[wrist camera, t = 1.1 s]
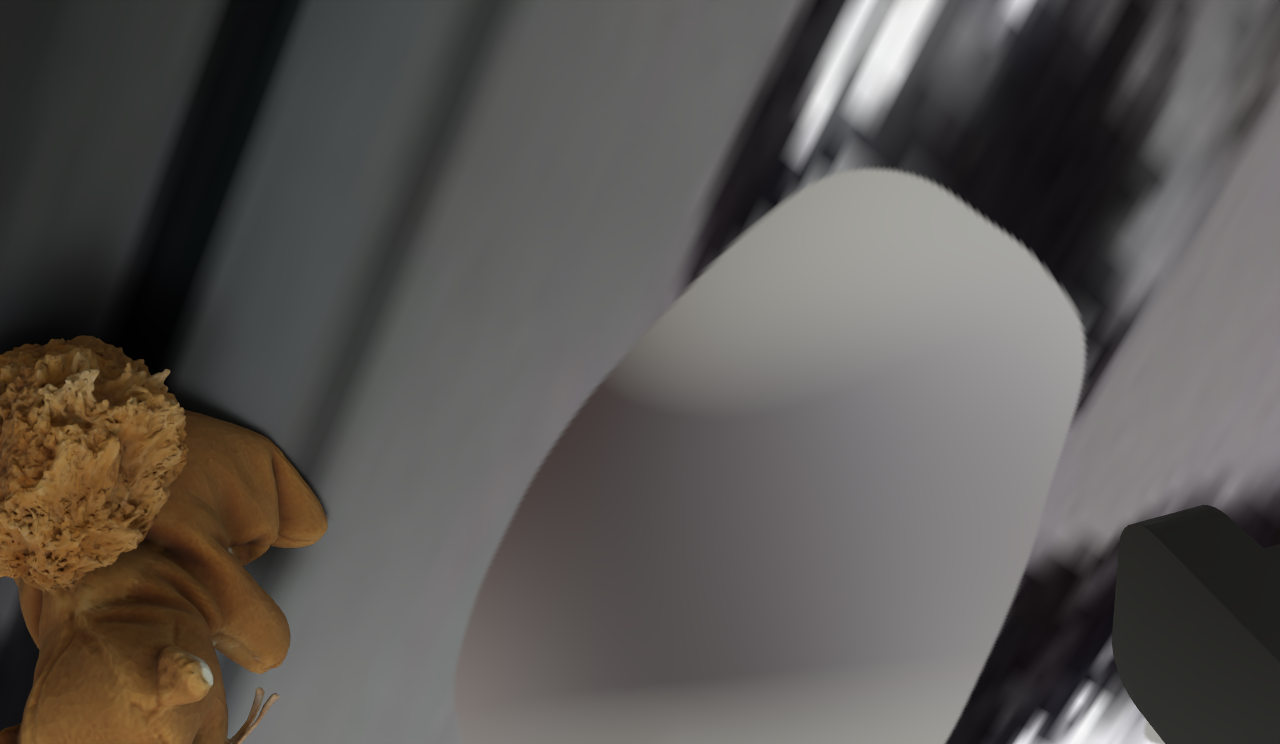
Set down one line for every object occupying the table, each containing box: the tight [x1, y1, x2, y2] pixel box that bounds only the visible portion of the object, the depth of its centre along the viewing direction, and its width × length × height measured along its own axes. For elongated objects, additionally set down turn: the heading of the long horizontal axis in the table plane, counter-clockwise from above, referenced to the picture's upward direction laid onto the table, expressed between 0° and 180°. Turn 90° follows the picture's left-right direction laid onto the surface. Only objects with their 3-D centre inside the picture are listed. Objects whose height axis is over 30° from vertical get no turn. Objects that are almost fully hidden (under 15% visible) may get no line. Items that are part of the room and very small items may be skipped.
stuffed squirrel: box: [0, 336, 328, 744], centre depth 33 cm, size 10×14×13 cm
